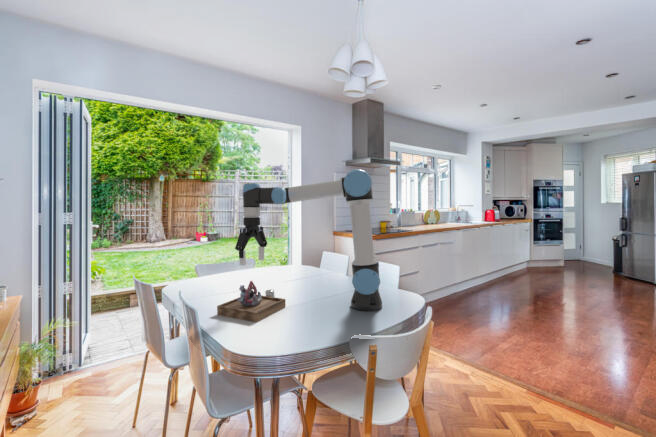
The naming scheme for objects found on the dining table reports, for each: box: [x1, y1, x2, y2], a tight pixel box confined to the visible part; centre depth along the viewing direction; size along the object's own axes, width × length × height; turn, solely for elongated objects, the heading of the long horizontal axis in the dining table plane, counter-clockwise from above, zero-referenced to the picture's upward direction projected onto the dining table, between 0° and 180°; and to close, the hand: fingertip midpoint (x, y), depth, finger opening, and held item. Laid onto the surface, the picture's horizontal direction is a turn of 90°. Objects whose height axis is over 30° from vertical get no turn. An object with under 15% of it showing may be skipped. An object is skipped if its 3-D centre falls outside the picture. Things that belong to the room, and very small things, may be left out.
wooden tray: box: [216, 295, 286, 323], centre depth 151 cm, size 22×22×4 cm
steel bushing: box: [265, 289, 276, 298], centre depth 167 cm, size 4×4×5 cm
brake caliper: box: [236, 280, 262, 306], centre depth 151 cm, size 11×11×12 cm
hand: (252, 262), depth 150 cm, fingers open, 13 cm apart
